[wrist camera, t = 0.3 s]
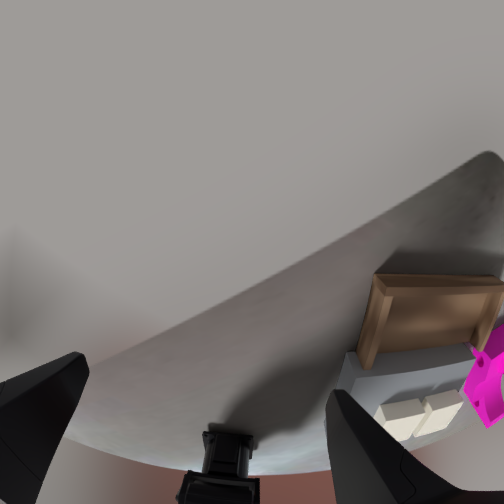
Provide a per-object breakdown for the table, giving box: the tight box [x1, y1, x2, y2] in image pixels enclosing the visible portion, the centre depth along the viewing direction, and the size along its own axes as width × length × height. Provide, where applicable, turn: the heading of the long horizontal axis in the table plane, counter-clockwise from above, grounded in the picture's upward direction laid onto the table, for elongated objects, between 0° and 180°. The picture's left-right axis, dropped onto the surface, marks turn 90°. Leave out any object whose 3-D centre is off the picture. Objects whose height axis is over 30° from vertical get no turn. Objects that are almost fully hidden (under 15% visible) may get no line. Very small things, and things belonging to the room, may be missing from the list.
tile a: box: [413, 389, 464, 437], centre depth 22 cm, size 5×5×2 cm
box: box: [355, 273, 504, 370], centre depth 22 cm, size 9×17×3 cm, turn 88°
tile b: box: [373, 398, 426, 441], centre depth 22 cm, size 5×5×2 cm
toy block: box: [463, 324, 504, 428], centre depth 23 cm, size 15×6×8 cm, turn 18°
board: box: [324, 343, 477, 437], centre depth 25 cm, size 12×16×4 cm
